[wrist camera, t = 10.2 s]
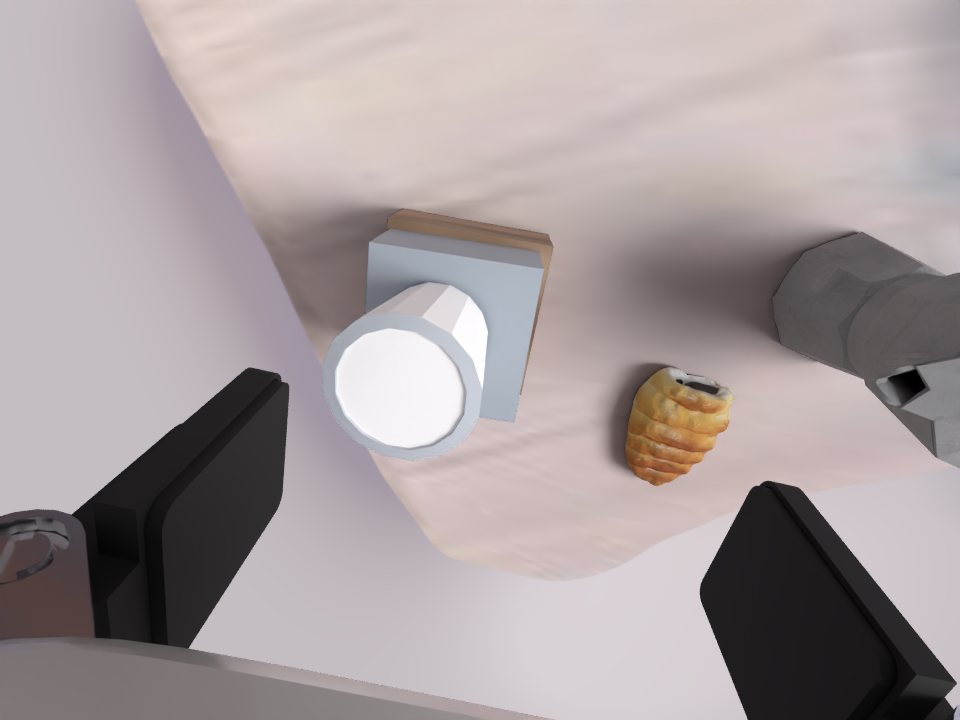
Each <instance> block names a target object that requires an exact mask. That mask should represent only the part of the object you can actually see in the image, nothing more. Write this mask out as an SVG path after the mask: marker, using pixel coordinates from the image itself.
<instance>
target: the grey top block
mask: <svg viewBox="0 0 960 720" xmlns="http://www.w3.org/2000/svg"><path fill="white" fill-rule="evenodd" d="M543 272H544V268H543V264H542V260H541V256H540V252H539V251H533V250H526V249H520V248H514V247H507V246H501V245H495V244H488V243H482V242H475V241H469V240H463V239H456V238H450V237H443V236H437V235H431V234H424V233H418V232H411V231H405V230H399V229H392V228H390V229H389V230H387V231H386V232H384V233H382V234H381V235H379V236H378V237H376V238H374V239H373V240H371V241H370V242H369V252H368V269H367V285H366V301H365V314H367V313H369V312H370V311H372V310H373V309H375V308H377V307H378V306H380V305H382V304H383V303H385V302H386V301H388V300H390V299H391V298H393V297H395V296H396V295H398V294H399V293H401V292H403V291H404V290H406V289H408V288H409V287H412V286H416V285H420V284H424V283H428V282H432V283H439V284H446V285H451V286H453V287H454V288H456V289H458V290H460V291H461V292H463V293H465V294H467V295H468V296H469V297H470V298H471V299H472V300H473V301H474V303H475V304H476V305H477V306H478V308H479V309H480V310H481V311H482V314H483V317H484V320H485V324H486V327H487V330H488V335H487V346H486V357H485V368H484V379H483V390H482V398H481V406H480V414H479V417H481V418H487V419H494V420H500V421H506V422H513V423H514V421H515V416H516V411H517V406H518V400H519V395H520V390H521V385H522V380H523V375H524V370H525V364H526V359H527V354H528V349H529V344H530V339H531V333H532V328H533V323H534V318H535V313H536V308H537V303H538V297H539V292H540V287H541V282H542V277H543Z"/></svg>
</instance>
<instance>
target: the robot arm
mask: <svg viewBox="0 0 960 720" xmlns="http://www.w3.org/2000/svg"><path fill="white" fill-rule="evenodd" d="M288 402H289V385H288V383H284V382H281V376H280V375H279V374H278V373H273V372H269V371H264V370H260V369H255V368H247V369H245V370H244V371H243V372H242V373H241V374H240V375H238V376H237V377H236V378H235V379H234V380H233V381H232V382H230V383H229V384H228V385H227V386H226V387H224V388H223V389H222V390H221V391H220V392H219V393H217V394H216V395H215V396H214V397H213V398H212V399H210V400H209V401H208V402H207V403H206V404H205V405H204V406H202V407H201V408H200V409H199V410H198V411H197V412H196V413H194V414H193V415H192V416H191V417H190V418H188V419H187V420H186V421H185V422H184V423H182V424H179V425H178V426H176V427H174V428H173V429H172V430H171V431H169V432H168V433H167V434H166V435H165V436H164V437H162V438H161V439H160V440H159V441H158V442H157V443H155V444H154V445H153V446H152V447H151V448H150V449H148V450H147V451H146V452H145V453H144V454H142V455H141V456H140V457H139V458H138V459H137V460H136V461H134V462H133V463H132V464H131V465H129V467H127V468H126V469H125V470H124V471H122V472H121V473H120V474H119V475H118V476H117V477H115V478H114V479H113V480H112V481H111V482H109V483H108V484H107V485H106V486H105V487H104V488H102V489H101V490H100V491H99V492H98V493H97V494H95V495H94V496H93V497H92V498H91V499H89V500H88V501H87V502H86V503H85V504H84V505H82V506H81V507H80V508H79V509H78V510H77V511H75V512H74V513H73V514H72V515H71V514H67V513H64V512H60V511H56V510H40V509H36V510H29V511H20V512H14V513H10V514H7V515H3V516H0V720H553V719H548V718H543V717H538V716H533V715H528V714H523V713H518V712H513V711H508V710H503V709H499V708H494V707H488V706H484V705H479V704H474V703H469V702H464V701H459V700H454V699H449V698H444V697H439V696H434V695H429V694H424V693H419V692H413V691H408V690H404V689H398V688H394V687H389V686H383V685H378V684H373V683H368V682H363V681H358V680H353V679H348V678H343V677H338V676H333V675H328V674H323V673H318V672H313V671H308V670H303V669H297V668H292V667H287V666H281V665H276V664H271V663H265V662H259V661H254V660H248V659H242V658H237V657H231V656H226V655H221V654H215V653H209V652H204V651H198V650H192V649H188V648H189V646H190V645H191V643H192V642H193V640H194V639H195V637H196V636H197V634H198V633H199V631H200V629H201V628H202V626H203V625H204V623H205V621H206V620H207V618H208V617H209V615H210V614H211V612H212V611H213V609H214V608H215V606H216V604H217V603H218V601H219V600H220V598H221V597H222V595H223V593H224V592H225V590H226V589H227V587H228V586H229V584H230V583H231V581H232V579H233V578H234V576H235V575H236V573H237V571H238V570H239V568H240V567H241V565H242V564H243V562H244V561H245V559H246V558H247V556H248V555H249V553H250V551H251V550H252V548H253V547H254V545H255V544H256V542H257V540H258V539H259V537H260V536H261V534H262V532H263V531H264V530H265V528H266V526H267V525H268V523H269V522H270V520H271V519H272V517H273V515H274V514H275V512H276V510H277V509H278V507H279V504H280V501H281V497H282V492H283V477H284V462H285V447H286V432H287V417H288ZM700 598H701V602H702V605H703V607H704V610H705V612H706V615H707V618H708V620H709V623H710V625H711V628H712V630H713V633H714V635H715V638H716V640H717V643H718V645H719V648H720V650H721V653H722V655H723V658H724V660H725V663H726V666H727V668H728V671H729V673H730V676H731V678H732V680H733V683H734V685H735V688H736V691H737V693H738V696H739V698H740V701H741V703H742V706H743V708H744V711H745V713H746V716H747V719H748V720H960V705H958V706H957V707H956V708H955V709H953V708H952V707H951V706H950V704H949V703H948V702H947V700H946V699H945V698H944V697H945V696H946V695H947V694H948V693H949V692H950V691H951V690H952V688H953V687H954V686H955V685H956V684H957V683H956V681H955V680H954V679H953V678H952V676H951V675H950V674H949V673H948V671H947V670H946V669H945V668H944V666H943V665H942V664H941V663H940V661H939V660H938V659H937V658H936V656H935V655H934V654H933V653H932V651H931V650H930V649H929V648H928V647H927V645H926V644H925V643H924V642H923V640H922V639H921V638H920V637H919V636H918V634H917V633H916V632H915V630H914V629H913V628H912V627H911V626H910V624H909V623H908V622H907V620H906V619H905V618H904V617H903V616H902V614H901V613H900V612H899V610H898V609H897V608H896V607H895V606H894V604H893V603H892V602H891V601H890V599H889V598H888V597H887V596H886V594H885V593H884V592H883V591H882V590H881V588H880V587H879V586H878V584H877V583H876V582H875V581H874V580H873V578H872V577H871V576H870V575H869V573H868V572H867V571H866V569H865V568H864V567H863V566H862V565H861V563H860V562H859V561H858V560H857V558H856V557H855V556H854V555H853V553H852V552H851V551H850V550H849V549H848V547H847V546H846V545H845V543H844V542H843V541H842V540H841V538H840V537H839V536H838V535H837V534H836V532H835V531H834V530H833V529H832V527H831V526H830V525H829V524H828V522H827V521H826V520H825V519H824V517H823V516H822V515H821V514H820V512H819V511H818V510H817V509H816V507H815V506H814V505H813V504H812V503H811V501H810V500H809V499H808V497H807V496H806V495H805V494H804V492H803V491H802V490H801V489H799V488H798V487H795V486H790V485H786V484H781V483H777V482H772V481H765V482H763V483H762V484H760V486H754V487H753V488H752V489H751V490H750V492H749V494H748V495H747V497H746V499H745V501H744V503H743V505H742V507H741V509H740V511H739V512H738V514H737V516H736V518H735V520H734V522H733V524H732V526H731V527H730V530H729V531H728V533H727V535H726V537H725V539H724V541H723V543H722V545H721V547H720V548H719V550H718V552H717V554H716V556H715V558H714V560H713V561H712V563H711V565H710V567H709V569H708V571H707V573H706V575H705V576H704V578H703V580H702V583H701V586H700Z"/></svg>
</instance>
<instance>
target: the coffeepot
mask: <svg viewBox="0 0 960 720" xmlns="http://www.w3.org/2000/svg"><path fill="white" fill-rule="evenodd" d="M772 301H773V308H774V320H775V323H776V326H777V330H778V333H779V337H780V343H781V344H782V345H784V346H786V347H788V348H790V349H792V350H794V351H797V352H799V353H801V354H803V355H805V356H807V357H809V358H812V359H814V360H816V361H818V362H820V363H822V364H825V365H827V366H830V367H833V368H835V369H838V370H841V371H843V372H846V373H849V374H851V375H854V376H857V377H859V378H862V379H864V381H865V385H866V386H867V387H868V388H869V389H870V390H871V391H872V393H873V394H874V395H875V396H876V397H877V398H878V399H879V400H880V401H881V402H882V403H883V404H884V405H885V406H886V407H887V408H888V409H889V410H890V411H891V412H892V413H893V414H894V415H895V416H896V417H897V418H898V419H899V420H900V421H901V422H902V423H903V424H904V425H905V426H906V427H907V428H908V429H909V430H910V431H911V432H912V433H913V434H914V435H915V436H916V438H917V439H918V440H919V441H920V442H921V443H922V444H923V445H924V446H925V447H926V448H927V449H928V450H929V451H930V452H931V453H932V454H933V455H934V456H935V457H936V458H938V459H940V460H943V461H945V462H947V463H949V464H951V465H954V466H956V467H958V468H960V273H956V274H952V275H948V276H946V275H944V274H943V273H941V272H939V271H937V270H935V269H933V268H931V267H929V266H927V265H926V264H924V263H922V262H920V261H918V260H916V259H915V258H913V257H911V256H909V255H907V254H905V253H903V252H901V251H899V250H897V249H895V248H893V247H891V246H889V245H887V244H885V243H883V242H881V241H879V240H877V239H875V238H873V237H871V236H869V235H867V234H865V233H863V232H860V233H857V234H854V235H851V236H848V237H845V238H841V239H837V240H833V241H830V242H827V243H825V244H823V245H820V246H818V247H816V248H813V249H810V250H807V251H805V252H804V253H803V254H802V255H801V257H800V258H799V259H798V260H797V262H796V263H795V264H794V265H793V266H792V268H791V269H790V270H789V271H788V273H787V274H786V275H785V277H784V279H783V281H782V282H781V284H780V286H779V289H778V291H777V292H776V294H775V295H774V297H773V298H772Z"/></svg>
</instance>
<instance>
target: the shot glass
mask: <svg viewBox="0 0 960 720" xmlns="http://www.w3.org/2000/svg"><path fill="white" fill-rule="evenodd" d="M487 335H488V330H487V327H486V324H485V320H484V317H483V314H482V311H481V310H480V309H479V308H478V306H477V305H476V304H475V303H474V301H473V300H472V299H471V298H470V297H469V296H468V295H467V294H465V293H463V292H461V291H460V290H458V289H456V288H454V287H453V286H451V285H446V284H439V283H432V282H428V283H424V284H420V285H416V286H412V287H409V288H408V289H406V290H404V291H403V292H401V293H399V294H398V295H396V296H395V297H393V298H391V299H390V300H388V301H386V302H385V303H383V304H382V305H380V306H378V307H377V308H375V309H373V310H372V311H370V312H369V313H367V314H365V315H364V316H362V317H360V318H359V319H357V320H356V321H355V322H353V323H352V324H351V325H350V326H349V327H347V328H346V329H345V330H344V331H342V332H341V333H340V334H339V335H337V336H336V337H335V338H334V339H333V342H332V344H331V346H330V348H329V350H328V353H327V355H326V357H325V359H324V361H323V364H322V372H323V394H324V396H325V398H326V401H327V403H328V405H329V407H330V410H331V412H332V414H333V417H334V418H335V420H336V421H337V422H338V423H339V424H340V425H341V426H342V428H343V429H344V430H345V431H346V432H347V433H348V434H349V435H350V436H351V437H352V438H353V439H354V440H355V441H356V442H358V443H360V444H362V445H363V446H365V447H367V448H369V449H371V450H373V451H375V452H377V453H378V454H380V455H382V456H387V457H393V458H399V459H404V460H410V461H414V460H420V459H426V458H431V457H437V456H441V455H443V454H444V453H446V452H448V451H449V450H451V449H452V448H454V447H455V446H457V445H459V444H460V443H462V442H463V441H464V440H465V439H466V437H467V436H468V434H469V433H470V431H471V430H472V428H473V427H474V425H475V423H476V422H477V420H478V419H479V414H480V406H481V398H482V390H483V379H484V368H485V357H486V346H487Z"/></svg>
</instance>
